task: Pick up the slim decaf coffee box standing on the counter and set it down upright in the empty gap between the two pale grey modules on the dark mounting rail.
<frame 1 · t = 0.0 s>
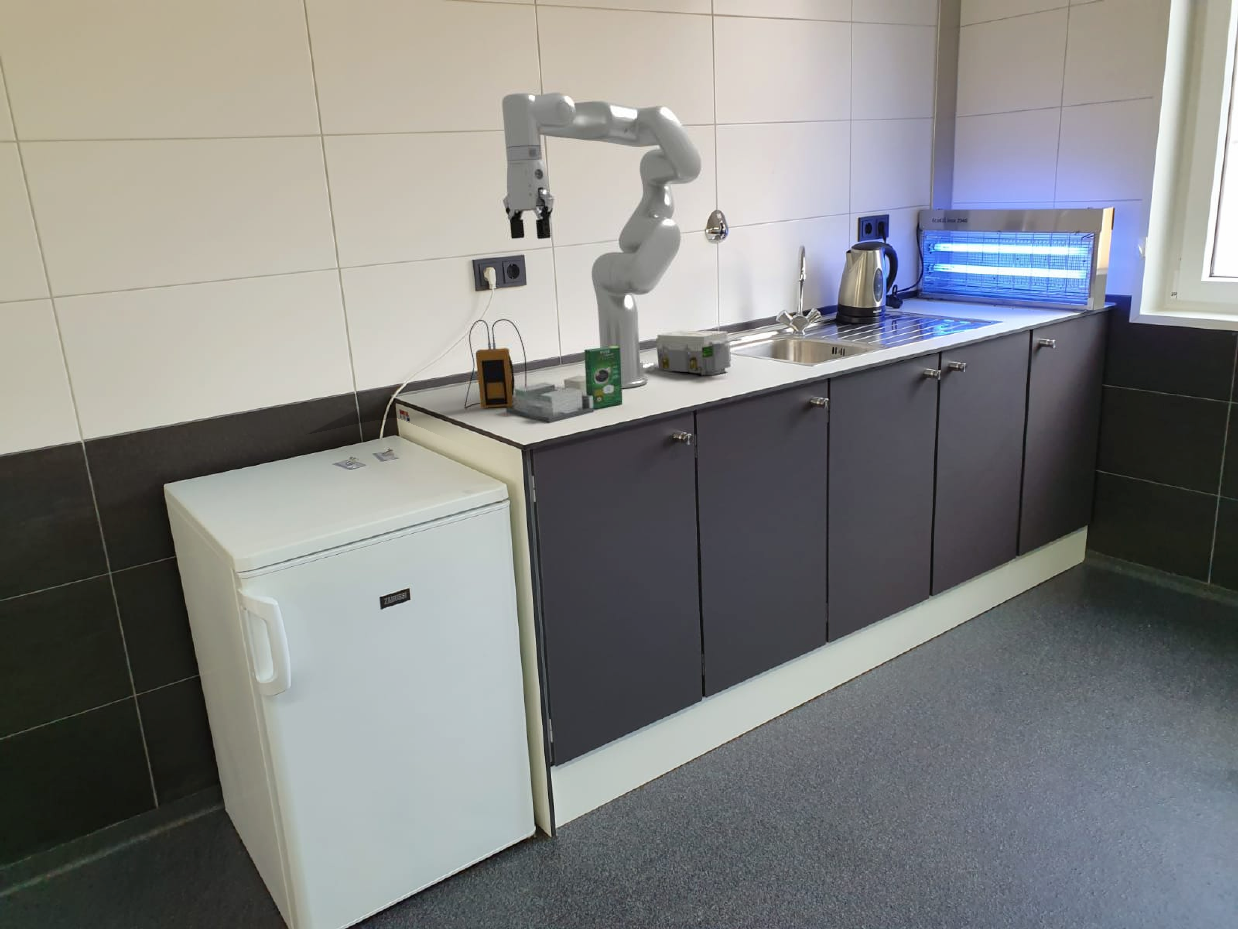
hand: (530, 238, 201), 37 cm above the counter, fingers open, 9 cm apart
coffee box: (605, 406, 205), on the counter
rail base: (549, 411, 202), on the counter
multimeter: (498, 404, 214), on the counter
grey electrical enclosure: (693, 371, 238), on the counter
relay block: (580, 399, 213), on the counter
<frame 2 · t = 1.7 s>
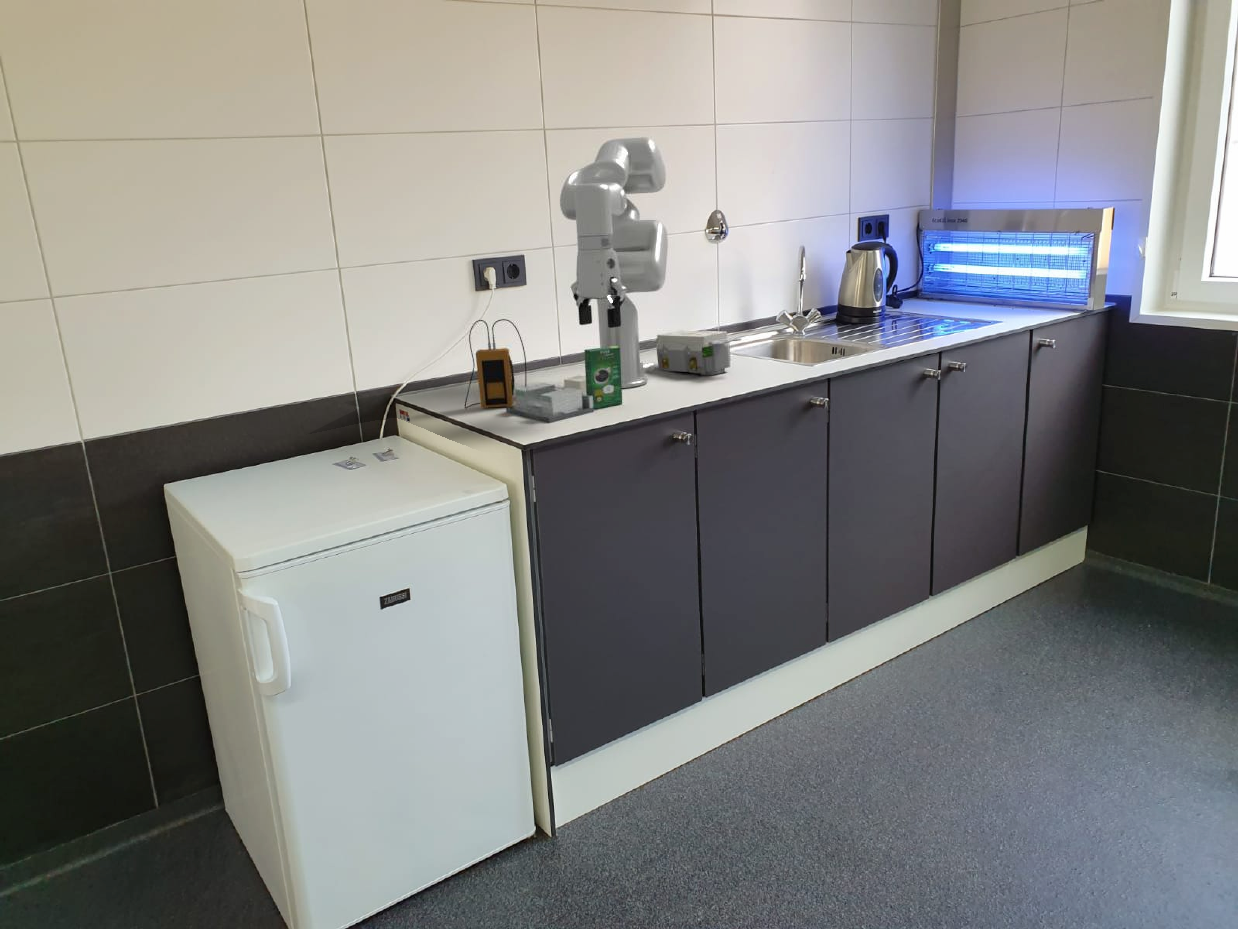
hand: (600, 325, 199), 18 cm above the counter, fingers open, 9 cm apart
nothing on the counter moved.
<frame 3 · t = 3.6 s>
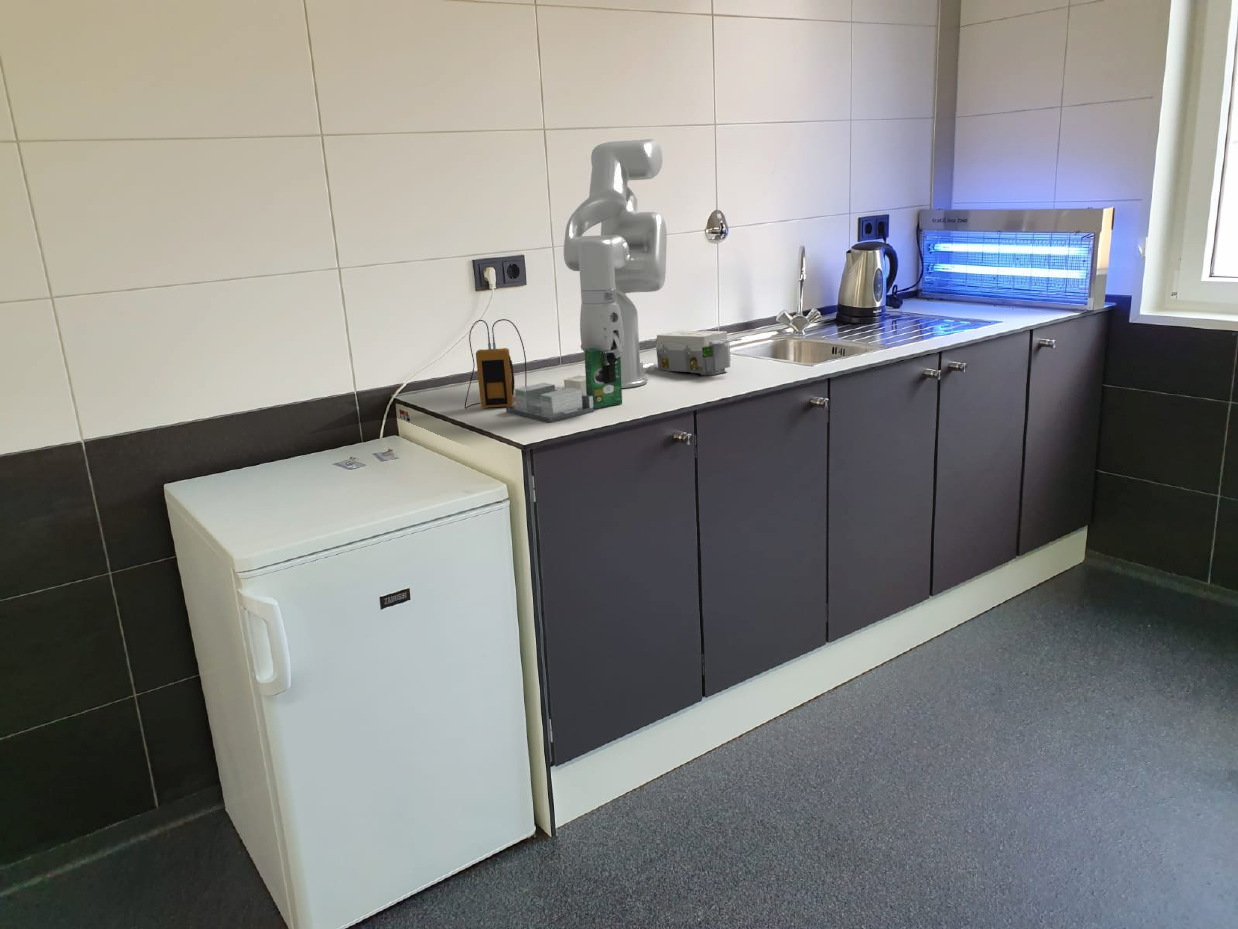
hand: (603, 380, 203), 6 cm above the counter, fingers closed on coffee box, 3 cm apart
coffee box: (605, 406, 205), on the counter, touching gripper
everything else where it was.
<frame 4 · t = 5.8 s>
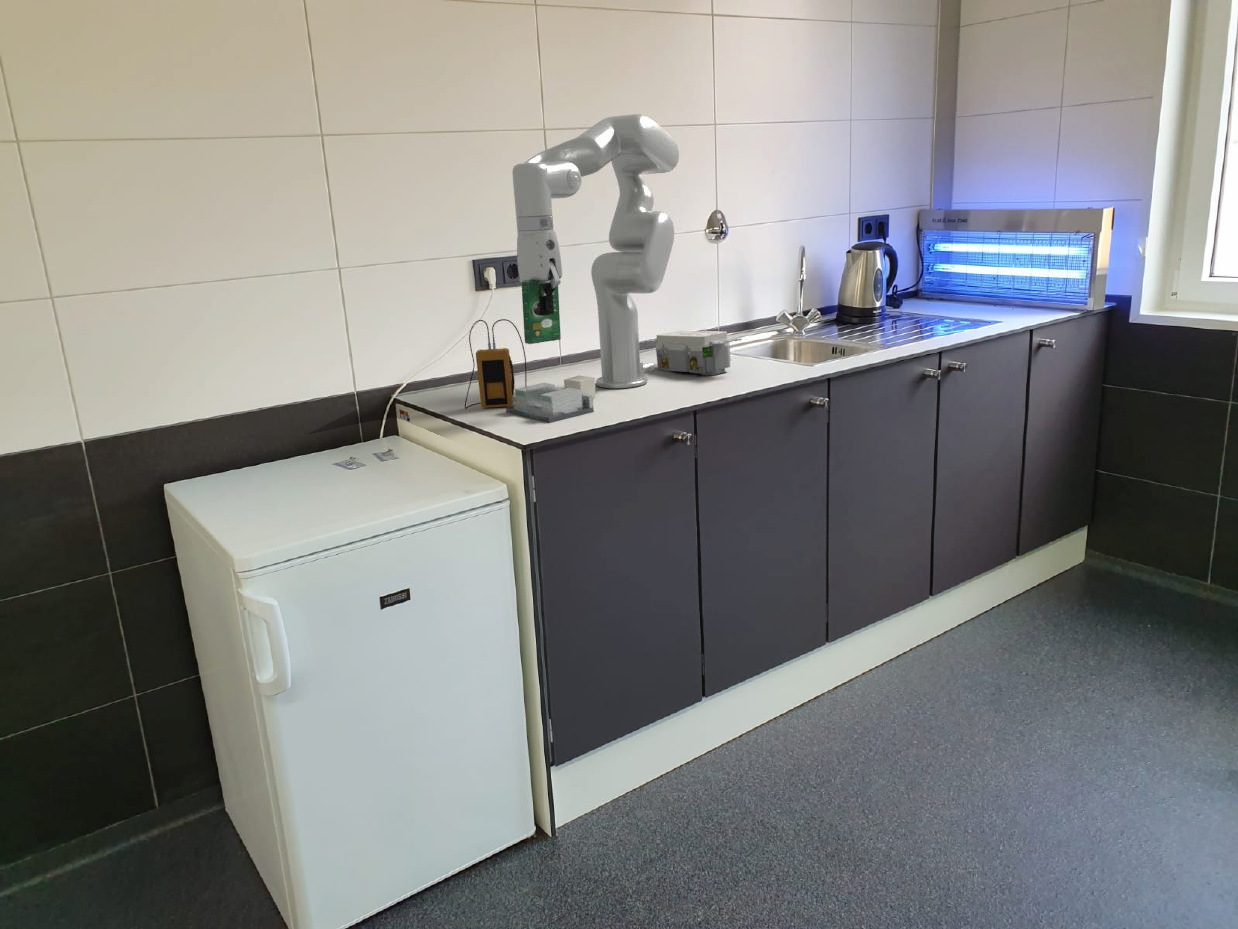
hand: (542, 313, 196), 22 cm above the counter, fingers closed on coffee box, 3 cm apart
coffee box: (543, 342, 198), point 15 cm above the counter, touching gripper
everything else where it was.
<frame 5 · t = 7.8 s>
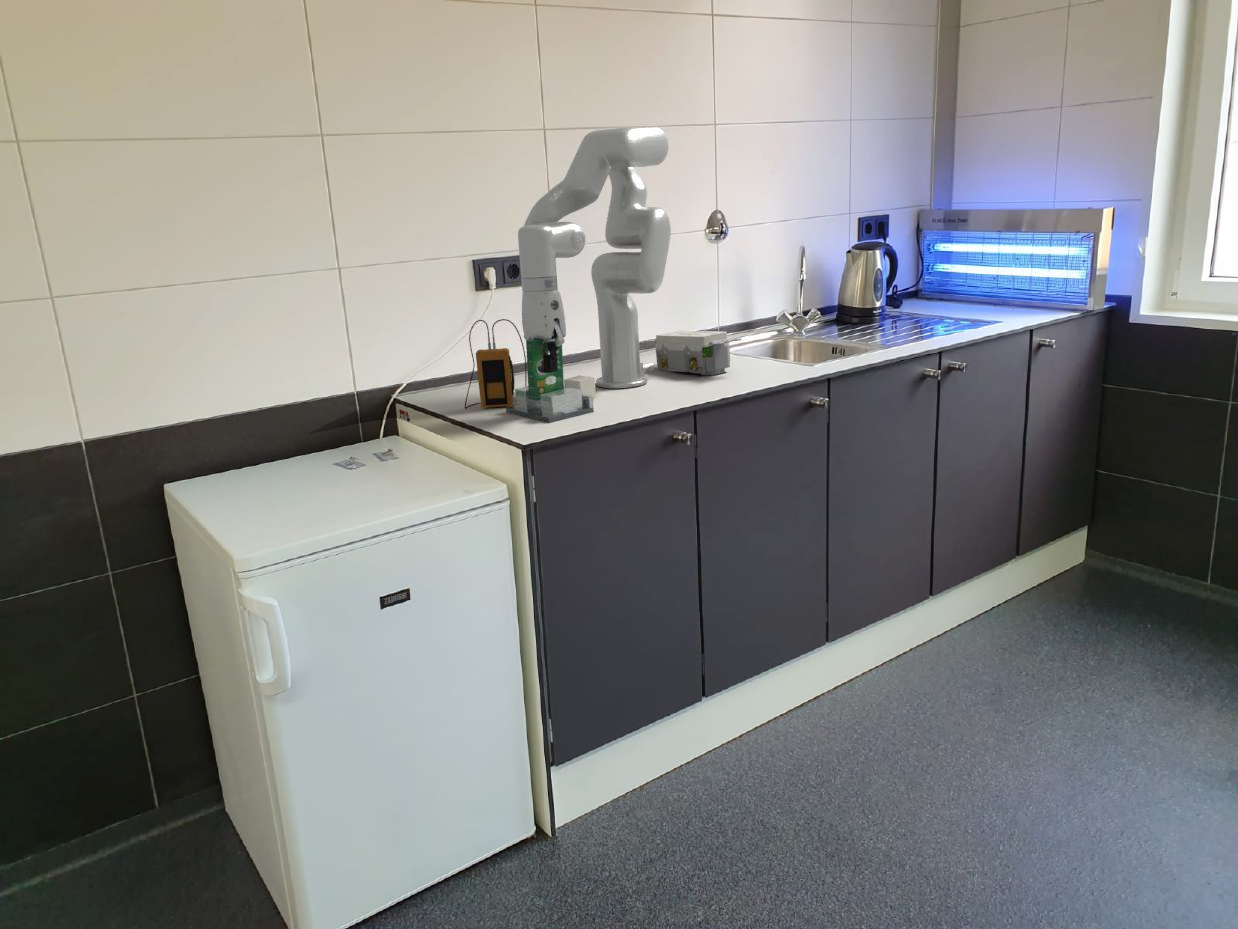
hand: (546, 370, 199), 9 cm above the counter, fingers closed on coffee box, 3 cm apart
coffee box: (547, 398, 201), point 3 cm above the counter, touching gripper
everything else where it was.
when the fingers open (7 cm above the counter, at t = 8.5 s): coffee box stays where it is, resting on rail base.
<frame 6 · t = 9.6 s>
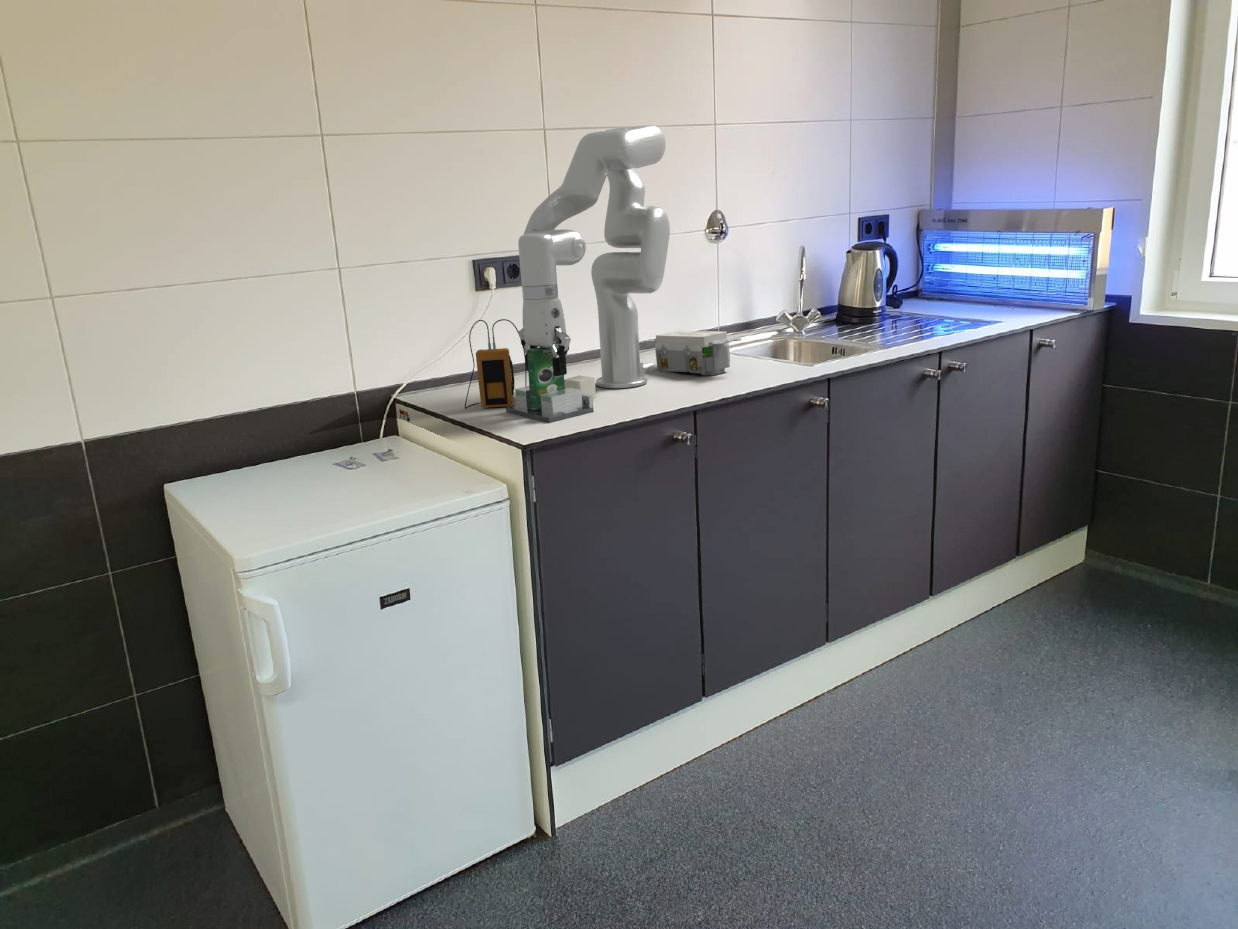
hand: (546, 372, 200), 9 cm above the counter, fingers open, 9 cm apart
coffee box: (548, 406, 202), point 1 cm above the counter, touching rail base
everything else where it was.
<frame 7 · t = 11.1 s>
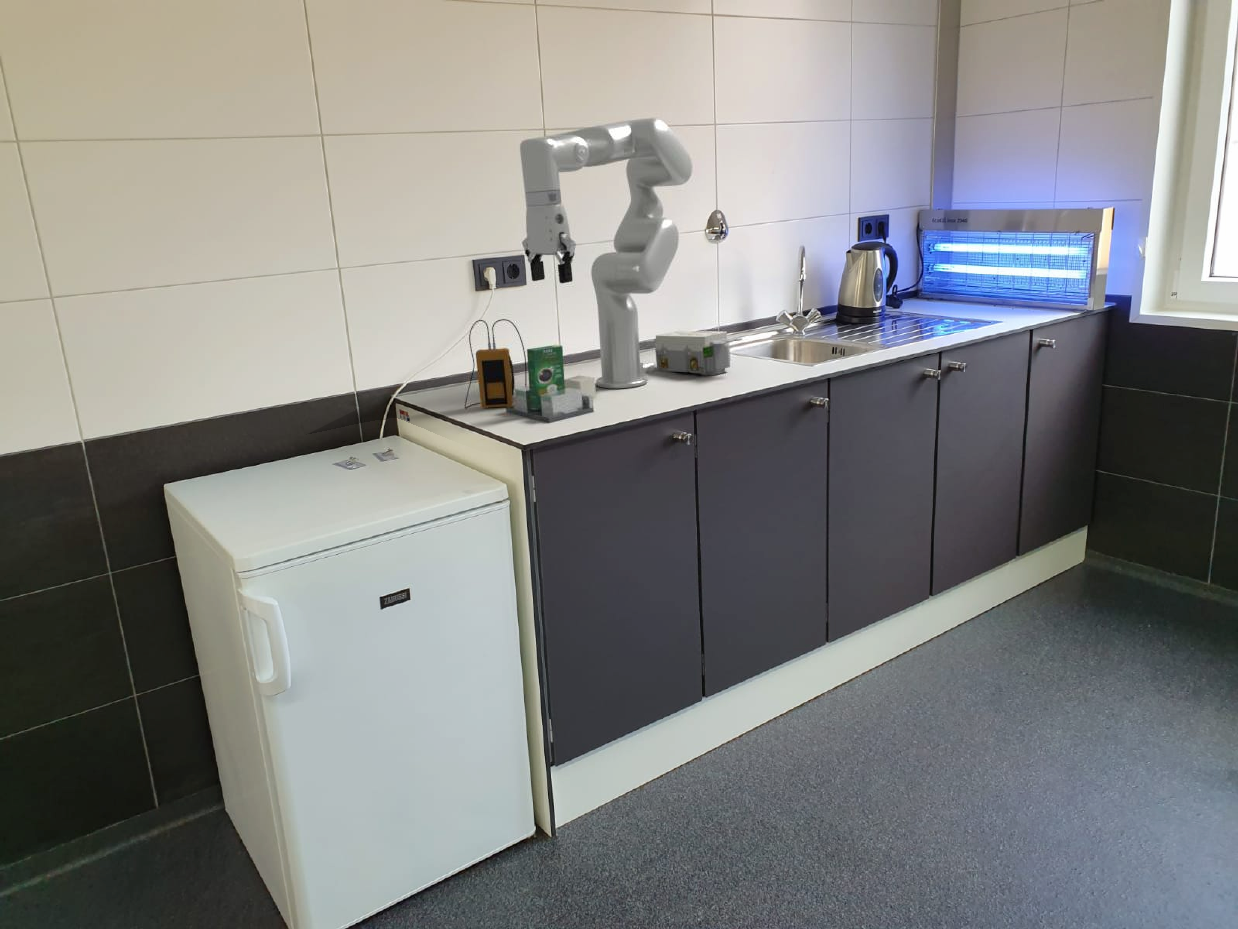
hand: (552, 281, 200), 28 cm above the counter, fingers open, 9 cm apart
nothing on the counter moved.
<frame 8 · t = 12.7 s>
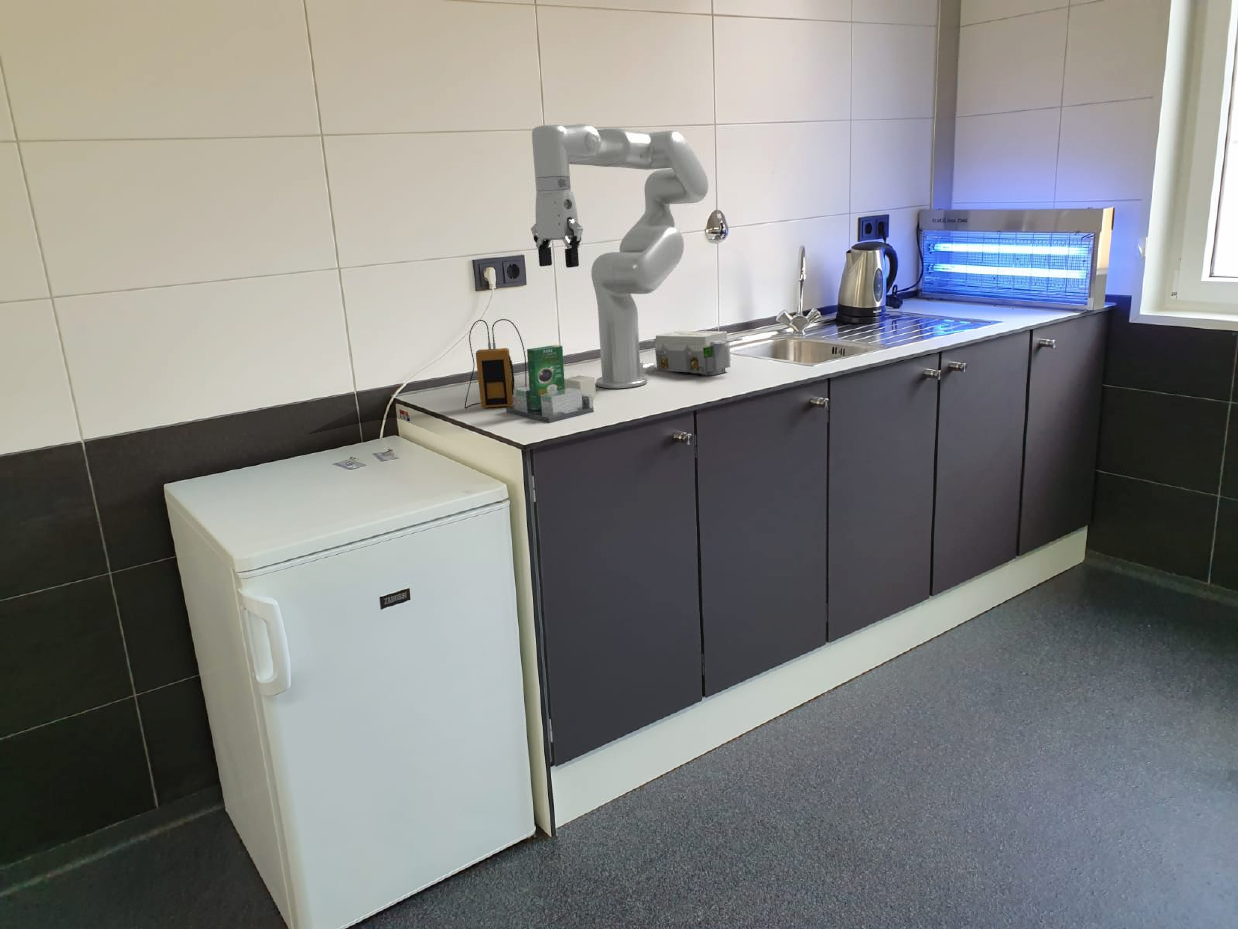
hand: (558, 266, 204), 30 cm above the counter, fingers open, 9 cm apart
nothing on the counter moved.
at the end: coffee box 0.1 cm off-centre on the rail base, point 1.1 cm above the rail base's base; coffee box tilted 0°; the gripper is holding nothing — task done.
